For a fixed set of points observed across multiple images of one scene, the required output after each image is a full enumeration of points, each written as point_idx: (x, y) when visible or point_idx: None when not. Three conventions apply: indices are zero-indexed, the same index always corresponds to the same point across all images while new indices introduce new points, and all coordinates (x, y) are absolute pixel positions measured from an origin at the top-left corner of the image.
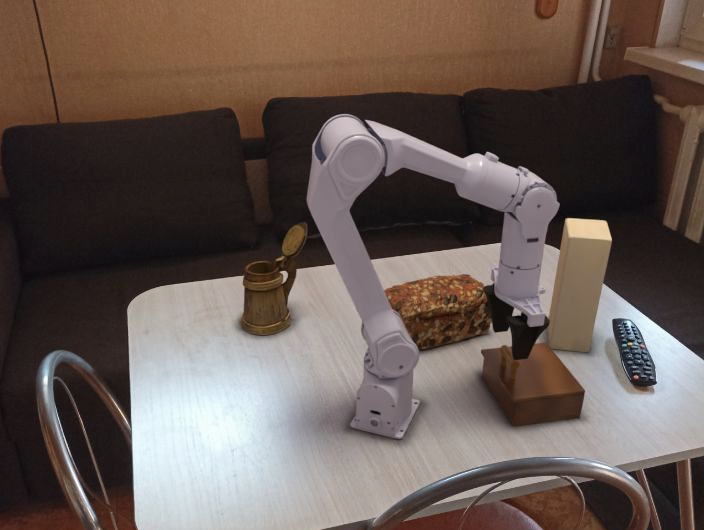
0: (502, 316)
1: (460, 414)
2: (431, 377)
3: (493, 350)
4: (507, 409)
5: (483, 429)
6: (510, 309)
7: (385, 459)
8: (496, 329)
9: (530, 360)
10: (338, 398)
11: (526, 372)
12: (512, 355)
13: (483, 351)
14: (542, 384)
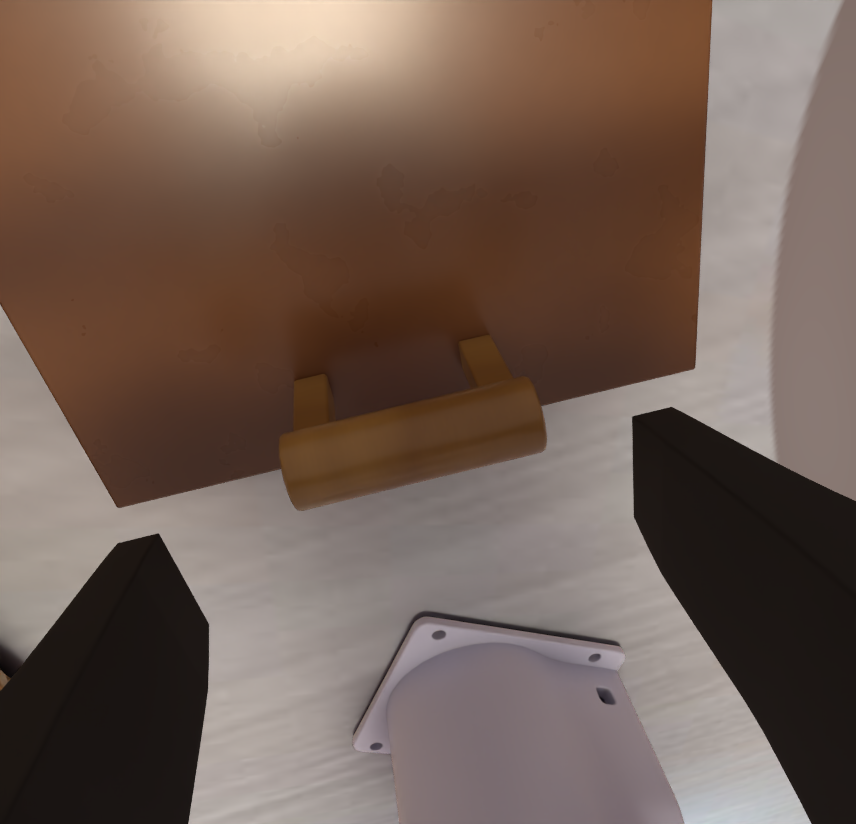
0: (141, 749)
1: (496, 481)
2: (216, 585)
3: (110, 435)
4: None
5: (608, 401)
6: (63, 786)
7: (694, 667)
8: (200, 644)
9: (216, 173)
10: (386, 797)
11: (405, 240)
12: (649, 540)
13: (140, 495)
14: (573, 144)
